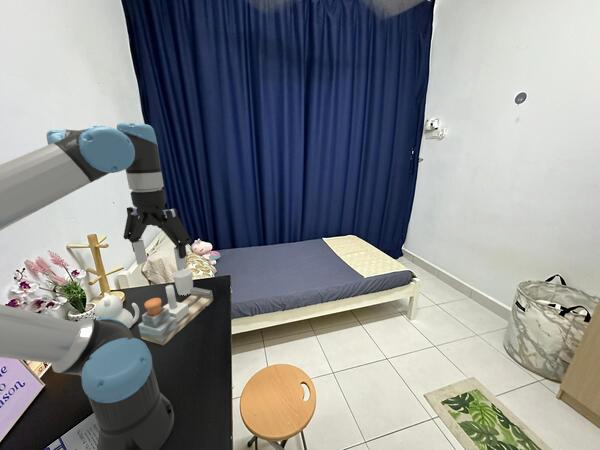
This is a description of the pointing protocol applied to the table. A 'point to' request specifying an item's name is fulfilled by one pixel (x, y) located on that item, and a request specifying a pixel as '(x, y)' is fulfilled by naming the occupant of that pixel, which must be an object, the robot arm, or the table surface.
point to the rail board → (185, 319)
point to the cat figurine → (115, 310)
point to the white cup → (183, 281)
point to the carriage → (175, 305)
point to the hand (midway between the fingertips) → (161, 265)
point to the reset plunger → (153, 306)
